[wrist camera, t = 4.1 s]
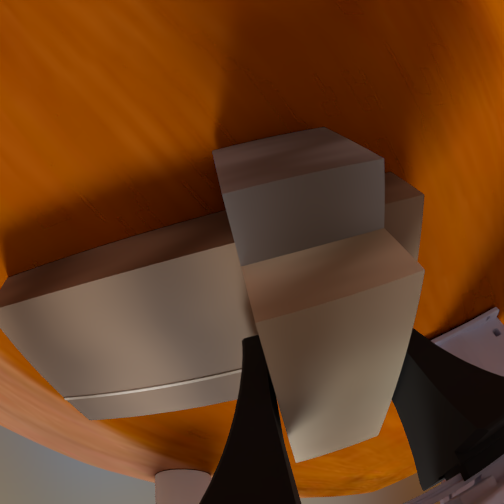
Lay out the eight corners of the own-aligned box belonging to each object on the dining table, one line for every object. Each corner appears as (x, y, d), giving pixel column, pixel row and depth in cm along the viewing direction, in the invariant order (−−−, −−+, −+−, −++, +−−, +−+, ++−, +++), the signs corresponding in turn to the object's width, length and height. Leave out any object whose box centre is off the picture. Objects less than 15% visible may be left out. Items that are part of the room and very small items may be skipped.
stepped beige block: (324, 127, 10) (434, 189, 5) (337, 346, 17) (377, 435, 12) (212, 150, 10) (232, 239, 5) (269, 366, 17) (296, 462, 12)
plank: (390, 171, 12) (424, 195, 10) (381, 318, 17) (400, 348, 15) (7, 277, 11) (-13, 312, 9) (94, 388, 17) (89, 420, 15)
